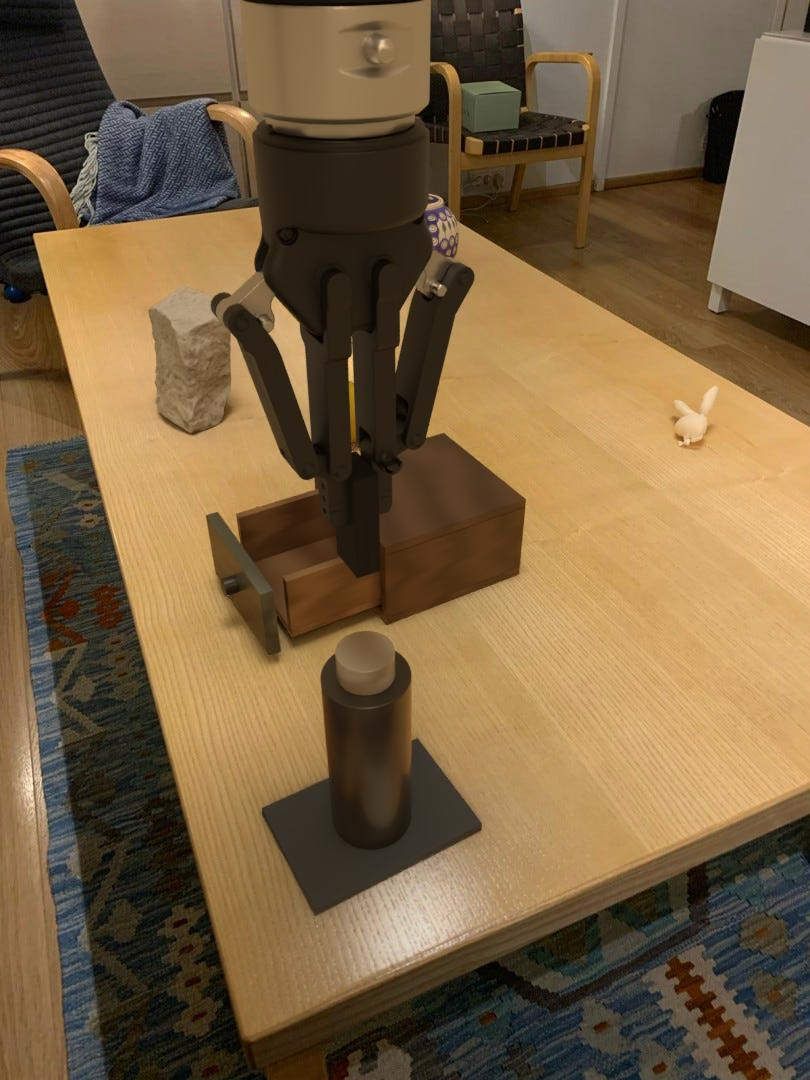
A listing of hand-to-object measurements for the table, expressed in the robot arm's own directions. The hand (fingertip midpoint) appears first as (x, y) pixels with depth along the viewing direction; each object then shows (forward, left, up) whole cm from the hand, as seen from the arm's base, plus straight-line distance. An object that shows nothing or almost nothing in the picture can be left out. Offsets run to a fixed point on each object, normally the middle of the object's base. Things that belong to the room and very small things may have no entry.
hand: (358, 561), depth 51 cm
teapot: (+60, +95, -22) cm, 115 cm away
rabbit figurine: (+60, +28, -22) cm, 70 cm away
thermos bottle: (-1, -2, -21) cm, 21 cm away
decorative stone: (+9, +64, -22) cm, 69 cm away
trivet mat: (-1, -2, -22) cm, 22 cm away
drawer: (+5, +23, -21) cm, 32 cm away
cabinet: (+18, +23, -22) cm, 37 cm away
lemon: (+23, +47, -22) cm, 57 cm away
